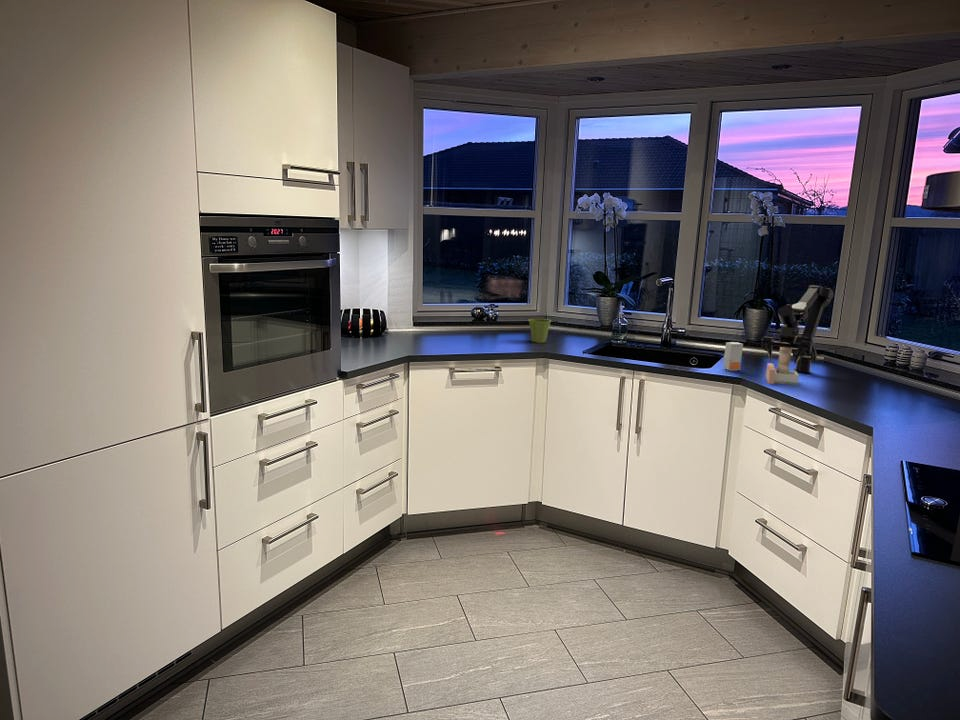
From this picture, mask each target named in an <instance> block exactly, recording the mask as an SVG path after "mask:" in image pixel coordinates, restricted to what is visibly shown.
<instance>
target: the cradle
mask: <svg viewBox="0 0 960 720" xmlns="http://www.w3.org/2000/svg"><path fill="white" fill-rule="evenodd" d="M775 370H776V372H775V379H774V384H780V385H781V384H782V385H790V386H798V385H799V379H800V376H799V372H796V371H794V370H789V373H788V374H782V373H777V368H775Z"/></svg>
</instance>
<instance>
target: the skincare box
mask: <svg viewBox="0 0 960 720" xmlns="http://www.w3.org/2000/svg"><path fill="white" fill-rule="evenodd" d="M743 348H744V343H740V342H738V341H737V342H736V341H735V342H734V341H730V342H727V341H726V342H725V348H724V356H723V363H722V364H723V365H722V369H723V370H725V369H727V370H726V371H728V370H729V371H738V370H739V371H740V370H741V363H742V357H743V356H742V355H743V350H744V349H743Z"/></svg>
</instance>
